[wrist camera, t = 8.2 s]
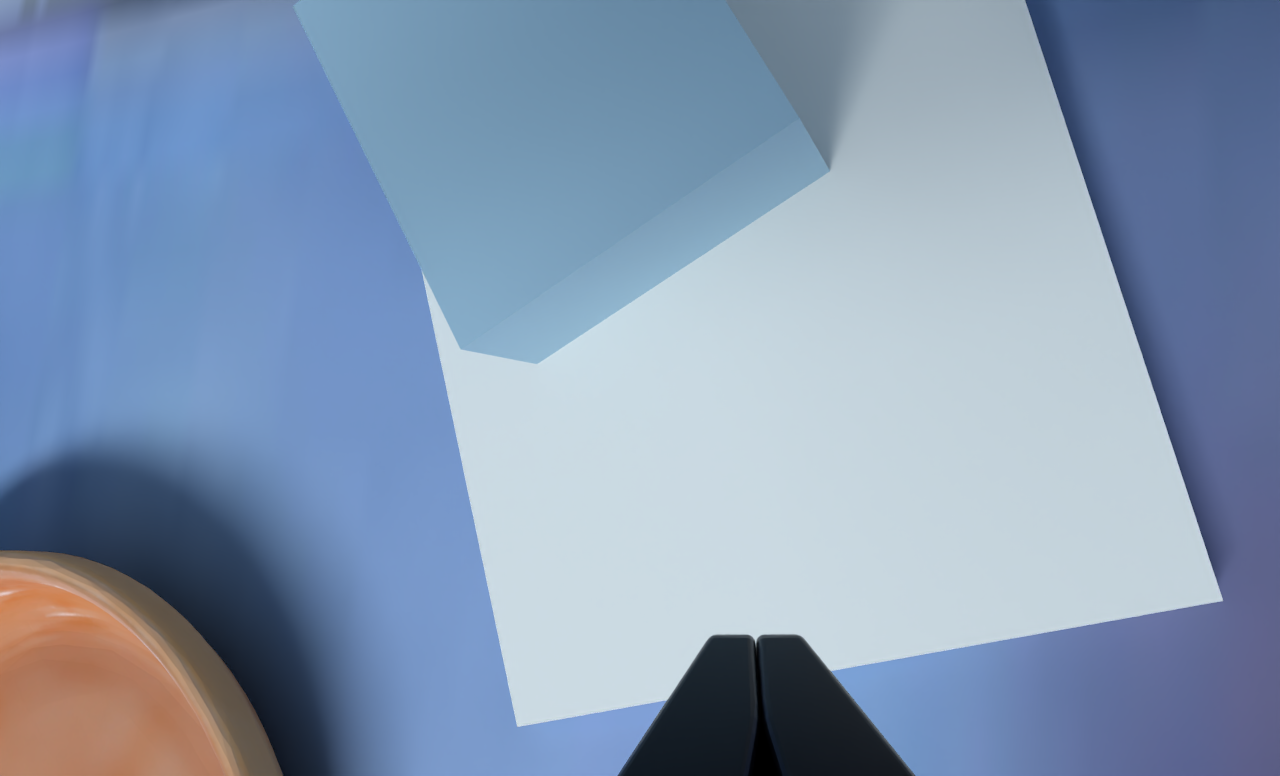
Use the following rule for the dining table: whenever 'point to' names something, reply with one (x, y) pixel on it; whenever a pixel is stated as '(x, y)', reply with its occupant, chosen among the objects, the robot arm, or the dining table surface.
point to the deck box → (559, 148)
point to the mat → (841, 396)
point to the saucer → (113, 680)
